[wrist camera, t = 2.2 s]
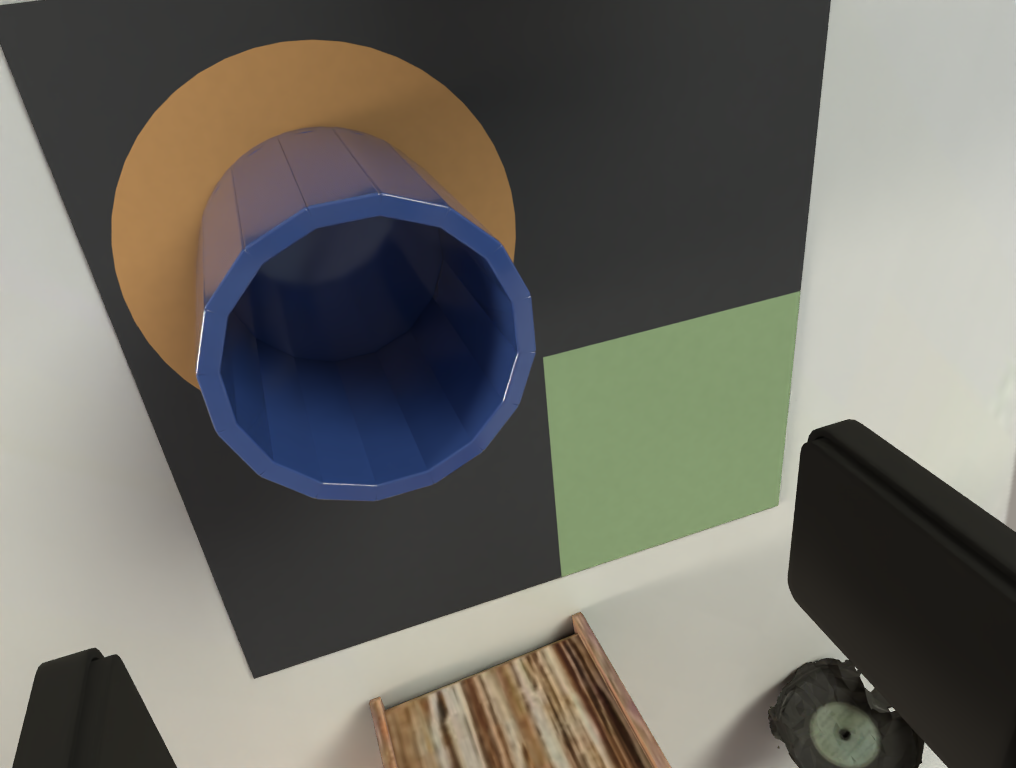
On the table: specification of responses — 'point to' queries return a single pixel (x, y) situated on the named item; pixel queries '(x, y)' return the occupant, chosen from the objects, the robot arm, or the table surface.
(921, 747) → the artificial flower
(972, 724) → the robot arm
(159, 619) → the table surface
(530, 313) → the blue cup
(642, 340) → the desk mat
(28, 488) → the table surface
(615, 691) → the book
